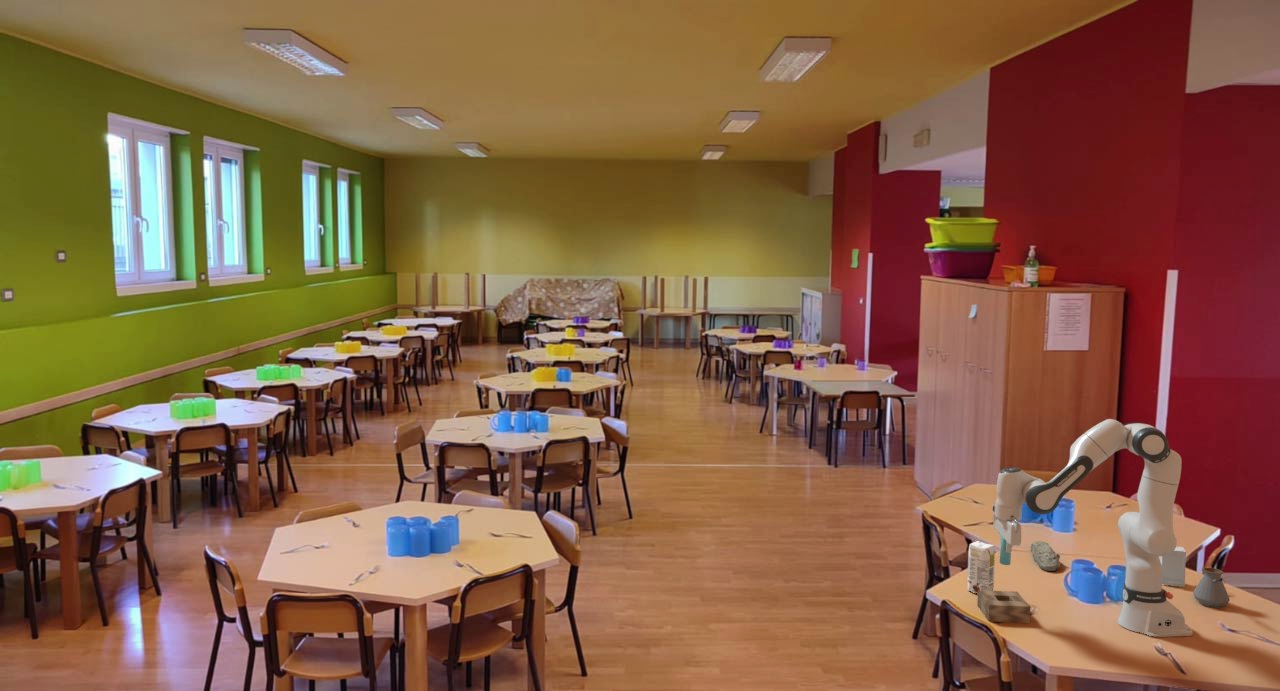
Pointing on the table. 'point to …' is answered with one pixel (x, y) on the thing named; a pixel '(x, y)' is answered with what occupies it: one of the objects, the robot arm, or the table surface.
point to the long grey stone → (1045, 556)
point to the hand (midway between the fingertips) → (1006, 549)
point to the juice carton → (981, 567)
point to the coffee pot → (1211, 589)
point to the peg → (1004, 553)
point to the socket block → (1003, 606)
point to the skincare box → (1174, 567)
